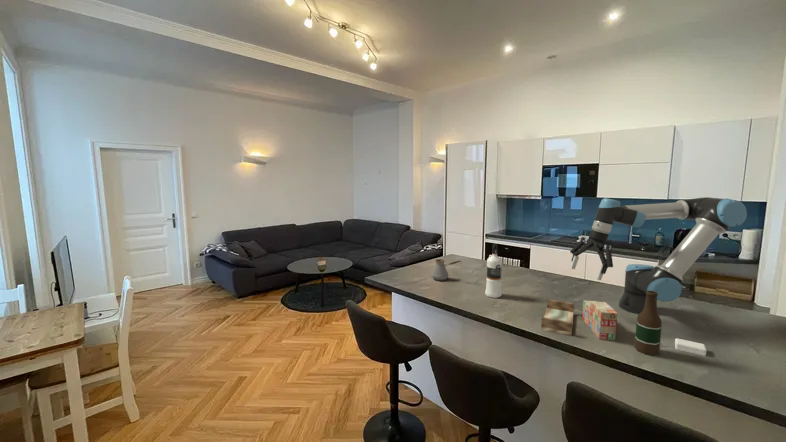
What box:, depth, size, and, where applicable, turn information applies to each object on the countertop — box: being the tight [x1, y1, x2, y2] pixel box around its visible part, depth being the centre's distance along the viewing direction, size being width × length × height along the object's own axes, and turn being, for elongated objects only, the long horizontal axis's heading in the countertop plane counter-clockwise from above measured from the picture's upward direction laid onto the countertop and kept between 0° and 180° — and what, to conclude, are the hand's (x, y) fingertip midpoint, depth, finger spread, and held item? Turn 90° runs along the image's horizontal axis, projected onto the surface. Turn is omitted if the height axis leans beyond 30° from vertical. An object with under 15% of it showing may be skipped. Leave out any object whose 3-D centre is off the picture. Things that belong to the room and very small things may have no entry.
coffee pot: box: [430, 258, 463, 282], centre depth 222 cm, size 21×12×15 cm, turn 52°
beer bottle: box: [634, 291, 663, 356], centre depth 130 cm, size 8×8×24 cm
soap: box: [674, 338, 707, 357], centre depth 132 cm, size 9×6×3 cm, turn 53°
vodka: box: [484, 243, 503, 299], centre depth 192 cm, size 9×9×30 cm
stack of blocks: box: [581, 300, 619, 341], centre depth 150 cm, size 21×6×12 cm, turn 168°
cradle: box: [540, 299, 575, 337], centre depth 158 cm, size 12×26×6 cm, turn 150°
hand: (584, 274), depth 160 cm, fingers open, 13 cm apart
